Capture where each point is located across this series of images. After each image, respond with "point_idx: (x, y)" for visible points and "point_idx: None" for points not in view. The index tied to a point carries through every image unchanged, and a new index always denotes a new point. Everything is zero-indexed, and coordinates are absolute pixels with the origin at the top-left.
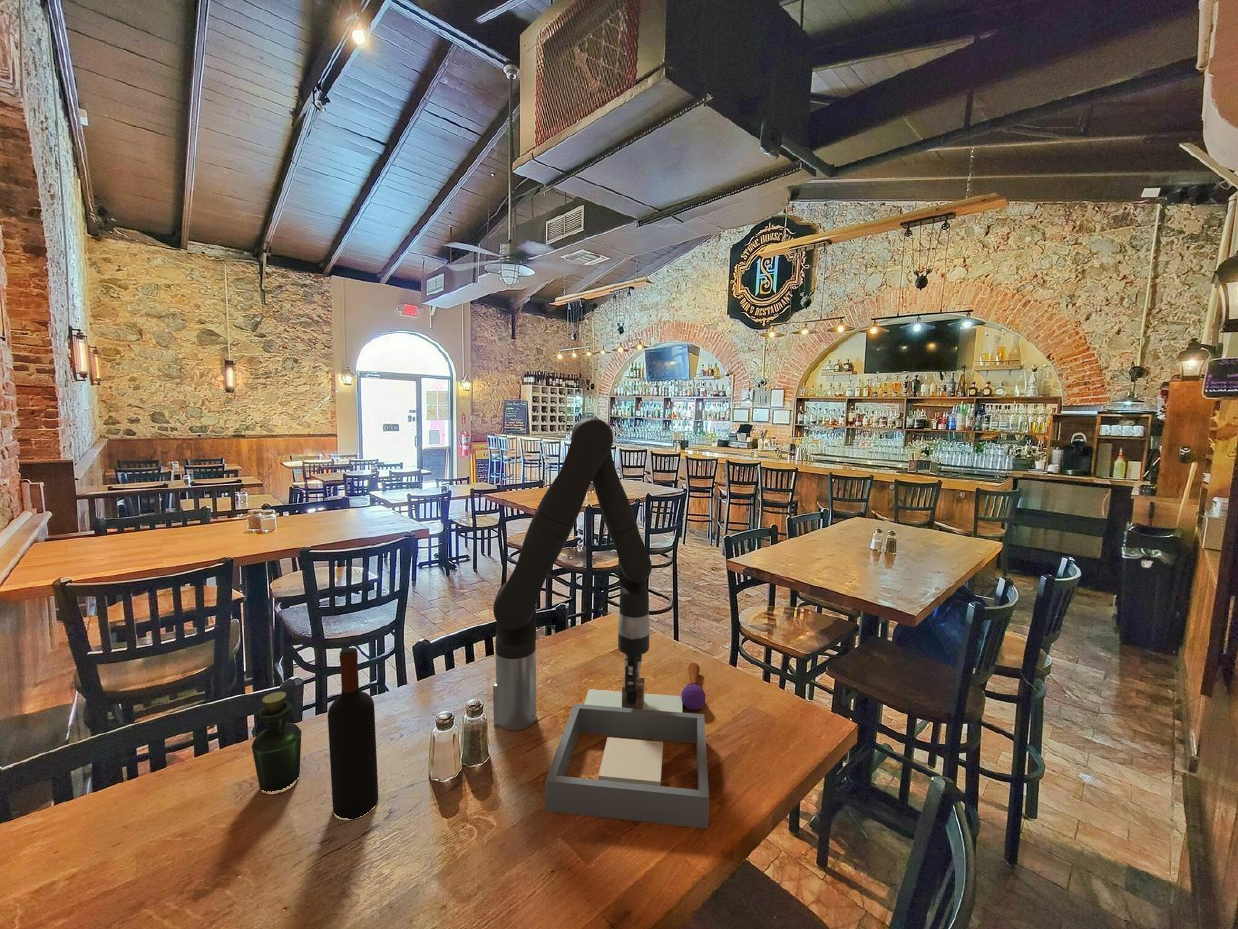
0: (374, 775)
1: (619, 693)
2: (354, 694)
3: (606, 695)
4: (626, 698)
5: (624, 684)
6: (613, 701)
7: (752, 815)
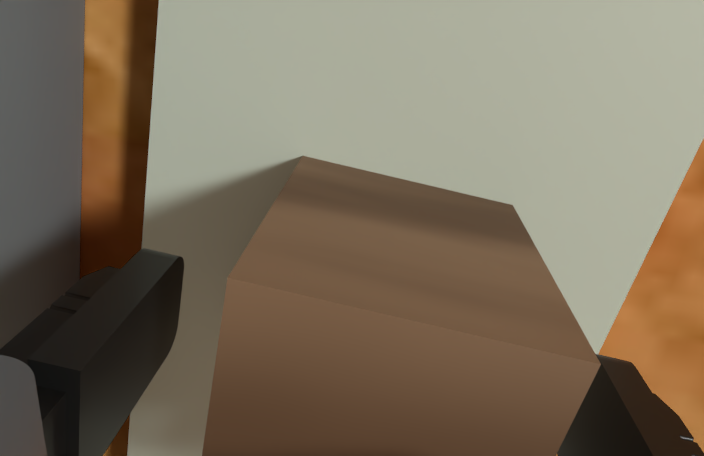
0: None
1: (642, 169)
2: None
3: (644, 6)
4: (116, 275)
5: (316, 329)
6: (490, 84)
7: None
